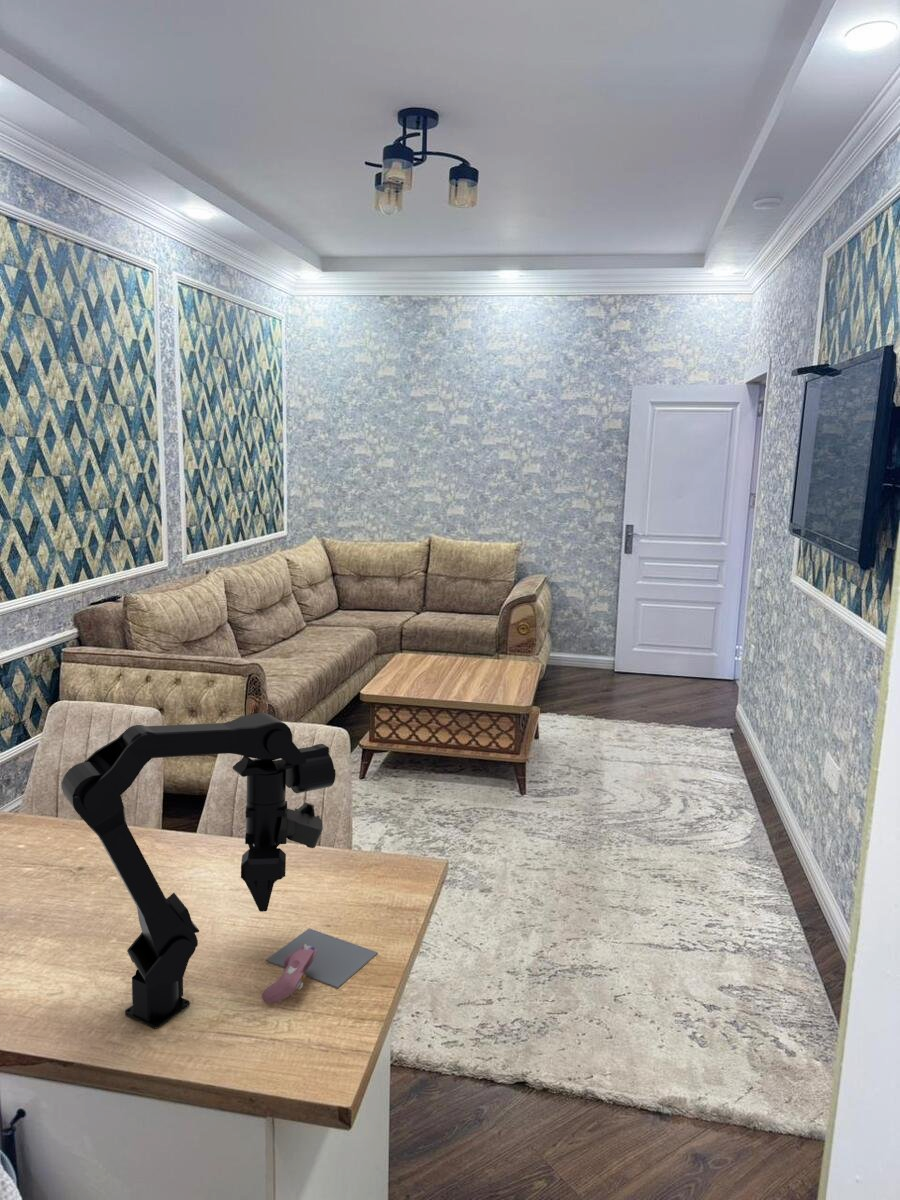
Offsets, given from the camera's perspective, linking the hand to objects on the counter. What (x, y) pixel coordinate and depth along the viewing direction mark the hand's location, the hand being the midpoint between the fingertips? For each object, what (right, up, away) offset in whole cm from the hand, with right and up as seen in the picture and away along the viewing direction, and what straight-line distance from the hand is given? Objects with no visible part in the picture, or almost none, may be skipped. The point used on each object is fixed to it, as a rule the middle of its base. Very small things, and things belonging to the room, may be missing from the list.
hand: (264, 895), depth 129 cm
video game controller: (+4, -13, -2) cm, 14 cm away
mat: (+8, -12, +7) cm, 16 cm away
